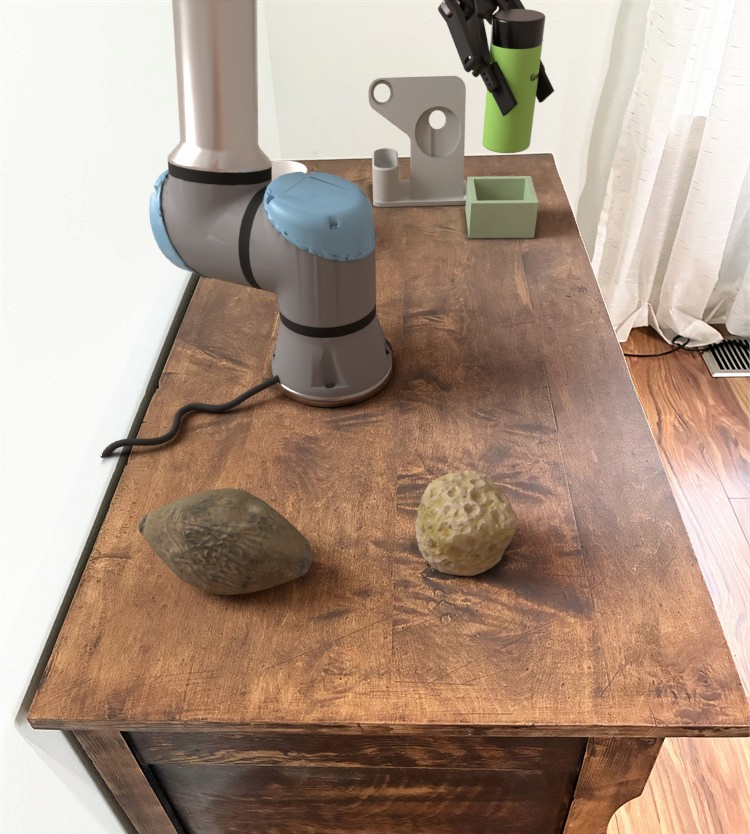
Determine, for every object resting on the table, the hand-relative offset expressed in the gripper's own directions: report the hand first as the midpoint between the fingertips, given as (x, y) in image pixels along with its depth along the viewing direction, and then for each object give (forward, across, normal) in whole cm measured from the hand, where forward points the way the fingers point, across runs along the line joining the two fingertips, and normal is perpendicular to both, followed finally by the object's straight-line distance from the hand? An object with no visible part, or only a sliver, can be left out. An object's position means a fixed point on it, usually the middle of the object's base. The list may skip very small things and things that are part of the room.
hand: (528, 103), depth 110 cm
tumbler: (+2, 0, +7) cm, 8 cm away
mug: (-4, -28, +32) cm, 42 cm away
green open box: (+11, 0, +16) cm, 20 cm away
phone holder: (-1, -1, +29) cm, 29 cm away
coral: (+44, -56, -17) cm, 73 cm away
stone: (+35, -75, -7) cm, 83 cm away
